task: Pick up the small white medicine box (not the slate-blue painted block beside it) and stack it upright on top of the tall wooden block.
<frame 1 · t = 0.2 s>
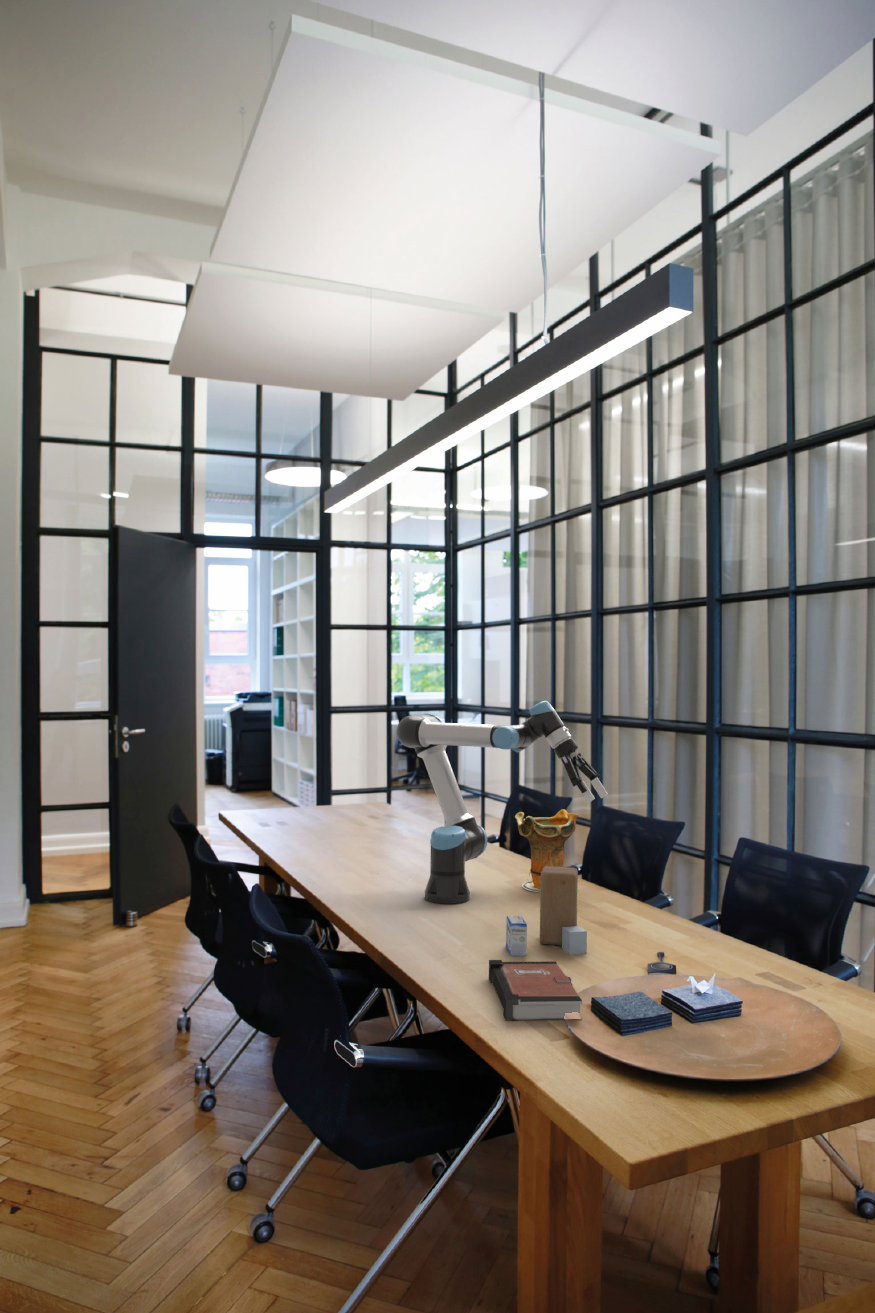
hand: (598, 798, 274), 36 cm above the table, tool tilted 35°, fingers open, 13 cm apart
wooden block: (558, 941, 240), on the table
medicine box: (516, 952, 230), on the table
slate block: (574, 951, 231), on the table
decorative vase: (546, 888, 303), on the table
book: (533, 1001, 196), on the table
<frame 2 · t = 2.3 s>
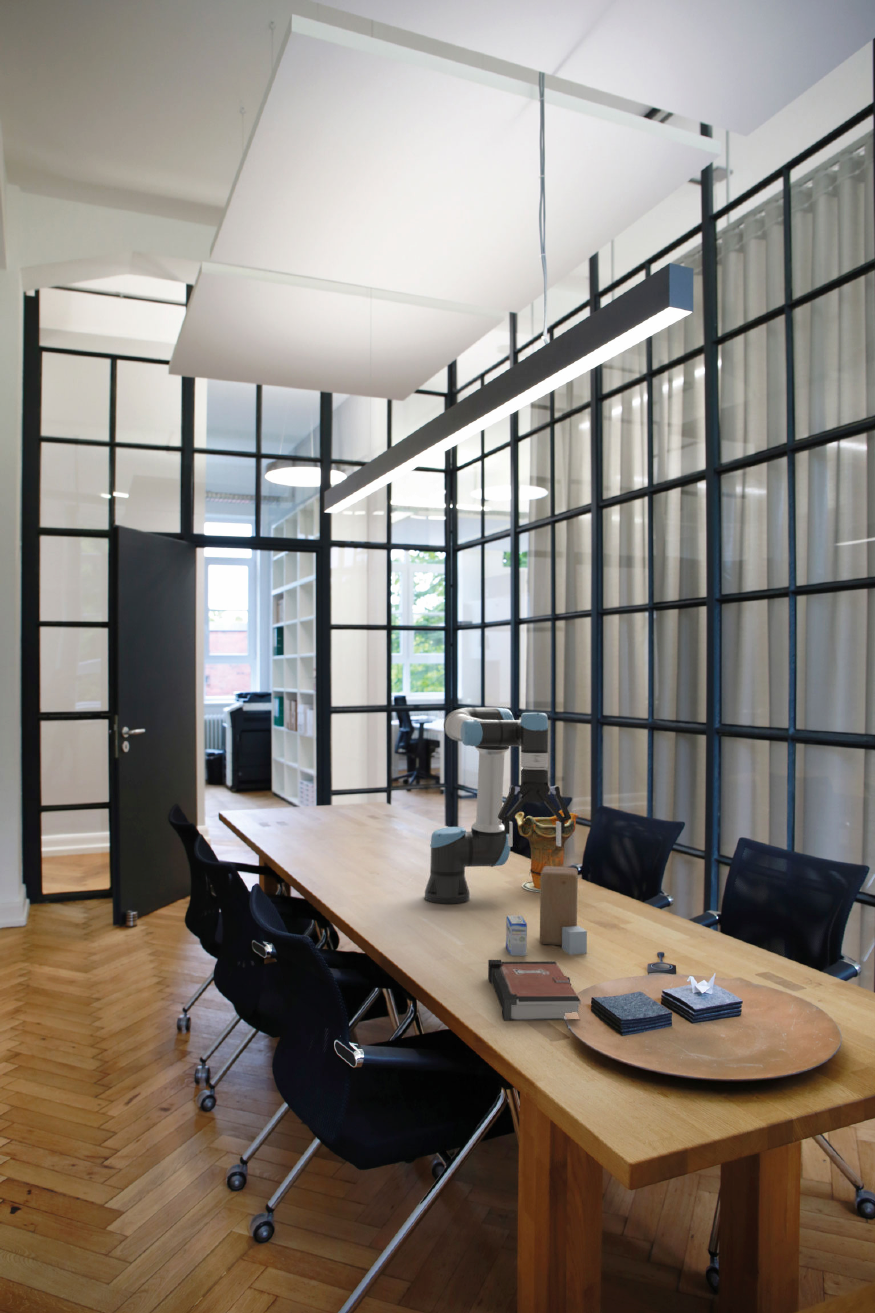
hand: (534, 846, 233), 28 cm above the table, tool pointing down, fingers open, 13 cm apart
nothing on the table moved.
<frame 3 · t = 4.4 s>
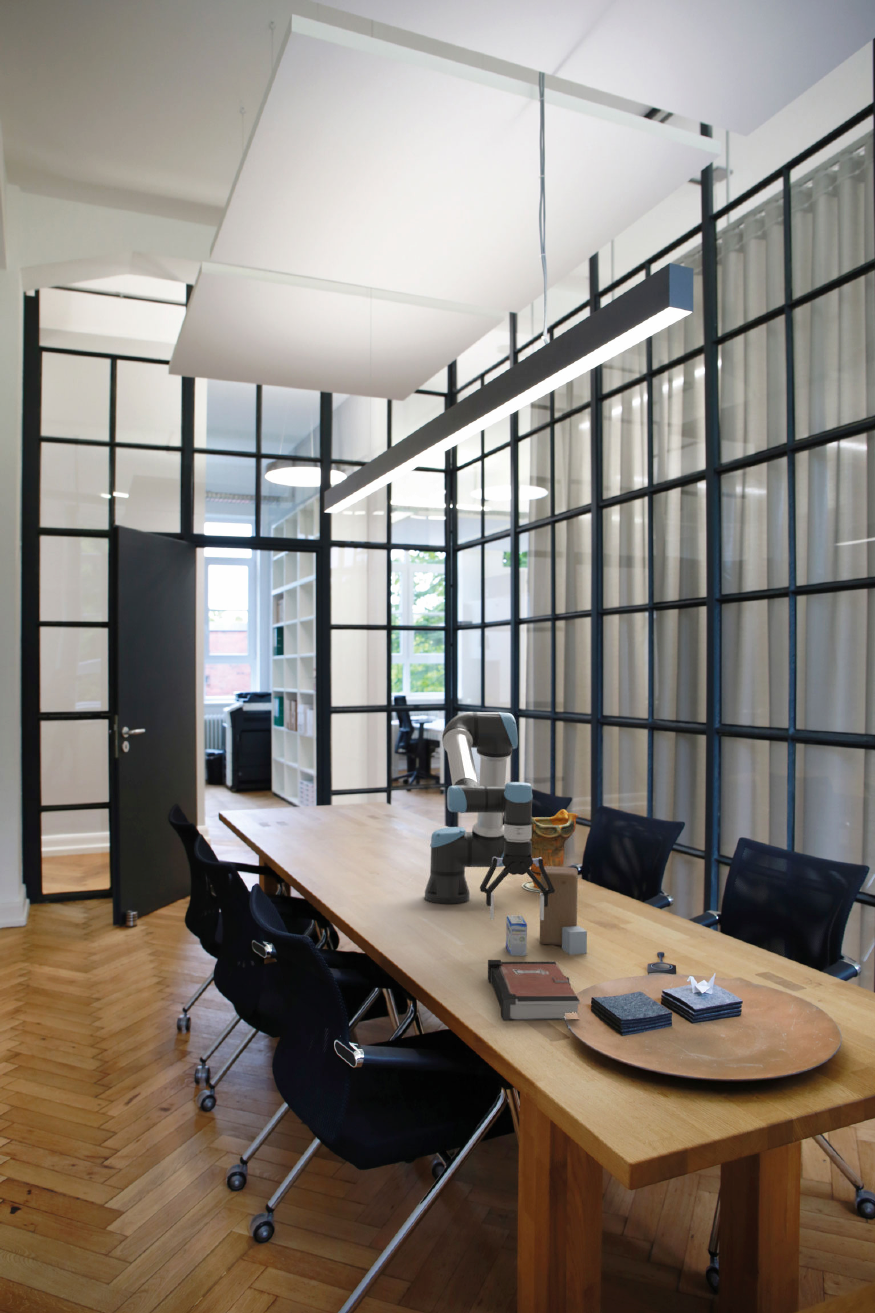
hand: (516, 918, 230), 9 cm above the table, tool pointing down, fingers open, 13 cm apart
nothing on the table moved.
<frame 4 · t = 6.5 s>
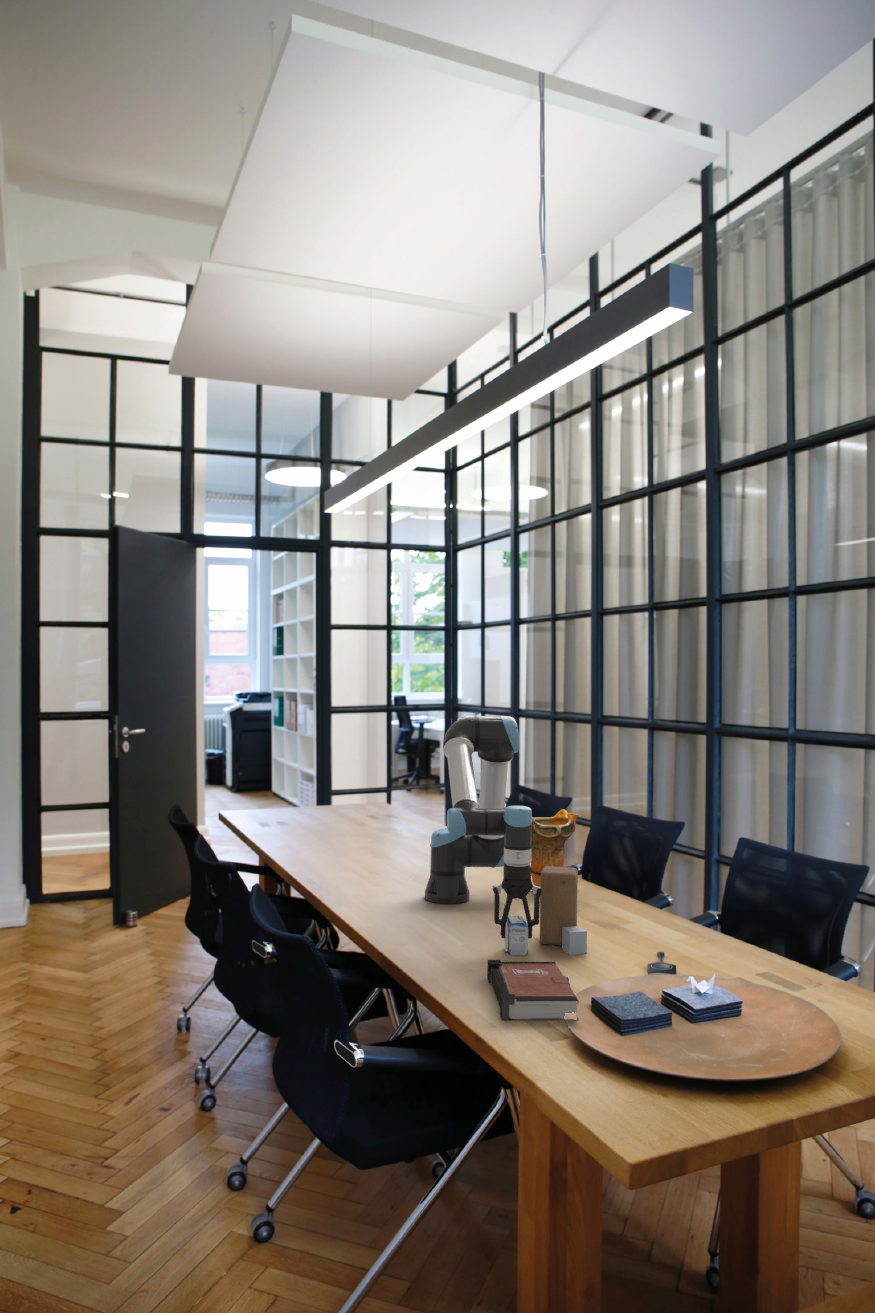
hand: (516, 950, 230), 0 cm above the table, tool pointing down, fingers closed on medicine box, 5 cm apart
medicine box: (516, 952, 230), on the table, touching gripper
everything else where it was.
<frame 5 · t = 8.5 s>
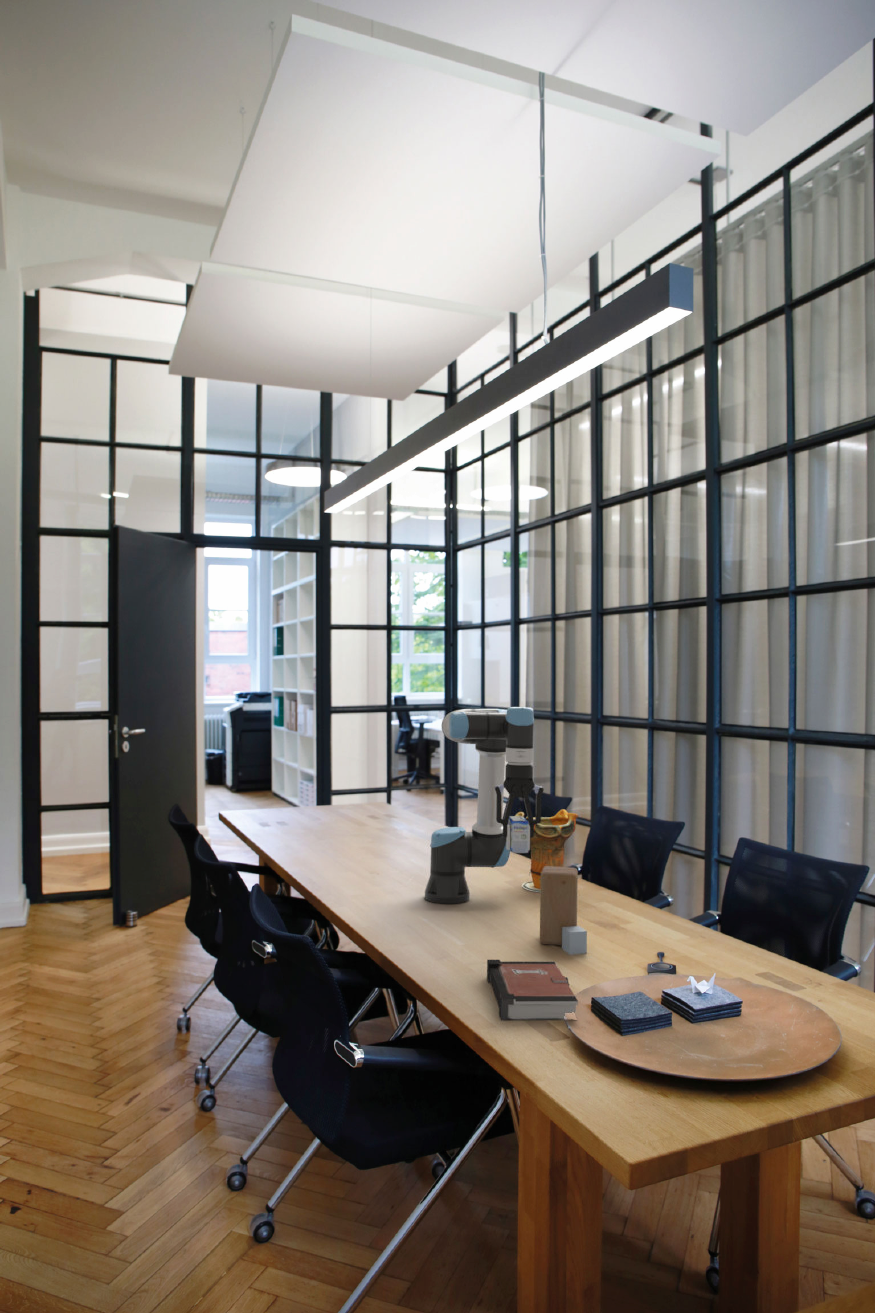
hand: (517, 849, 231), 28 cm above the table, tool pointing down, fingers closed on medicine box, 5 cm apart
medicine box: (518, 851, 231), point 27 cm above the table, touching gripper
everything else where it was.
when the fingers open (21 cm above the table, at t = 11.0 s): medicine box stays where it is, resting on wooden block.
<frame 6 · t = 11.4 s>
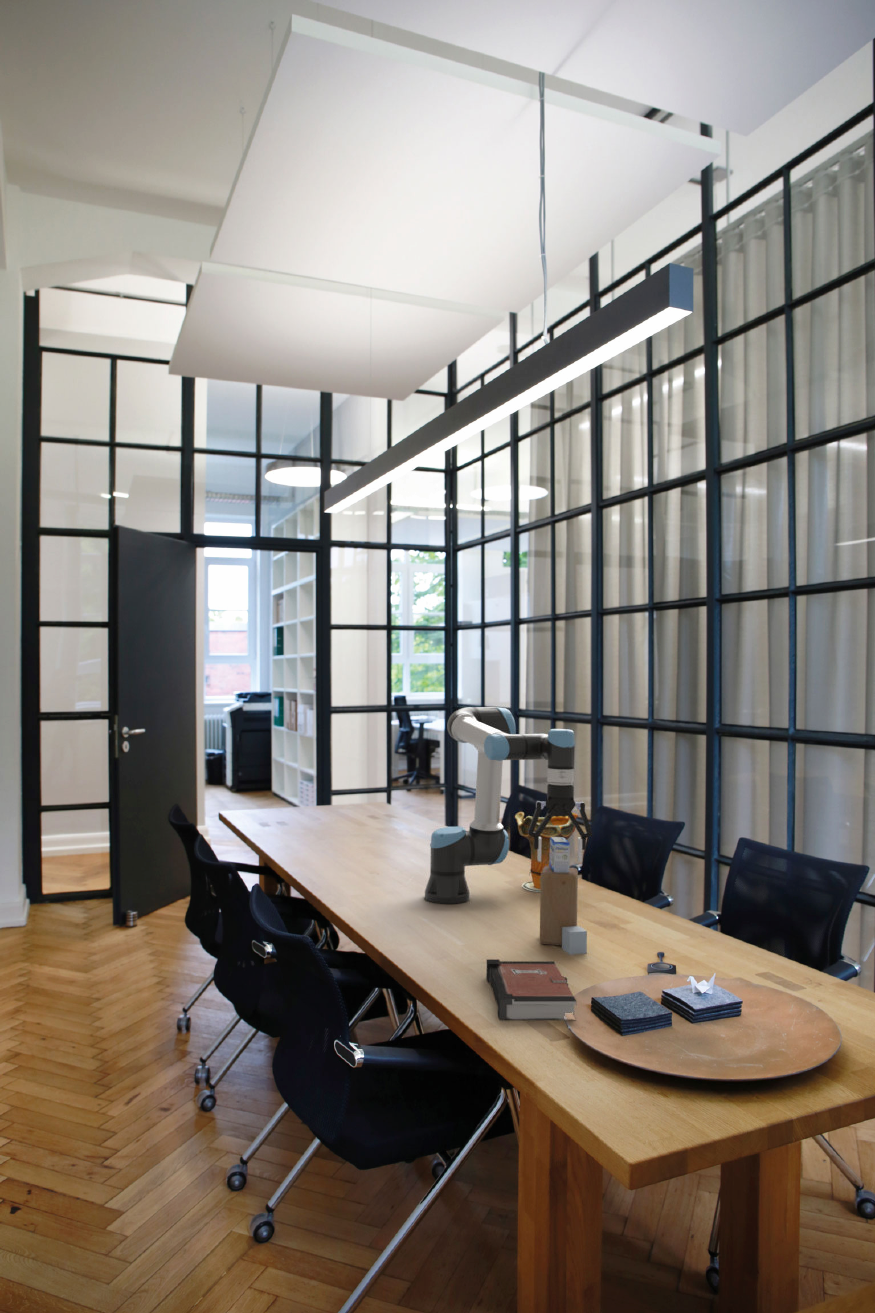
hand: (559, 861, 241), 22 cm above the table, tool pointing down, fingers open, 11 cm apart
wooden block: (558, 941, 240), on the table, touching medicine box
medicine box: (559, 870, 241), point 20 cm above the table, touching wooden block
everything else where it was.
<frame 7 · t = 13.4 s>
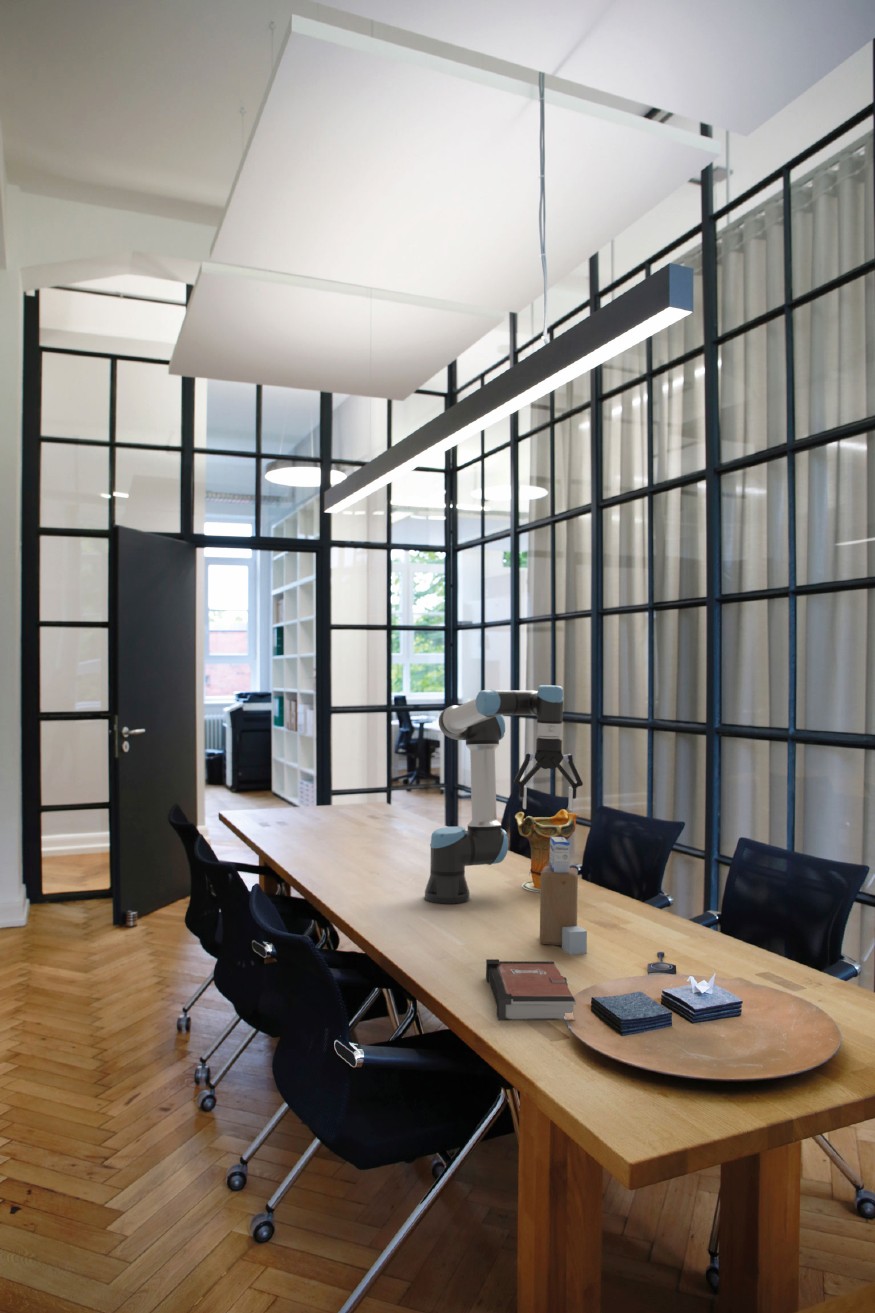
hand: (547, 809, 251), 36 cm above the table, tool pointing down, fingers open, 13 cm apart
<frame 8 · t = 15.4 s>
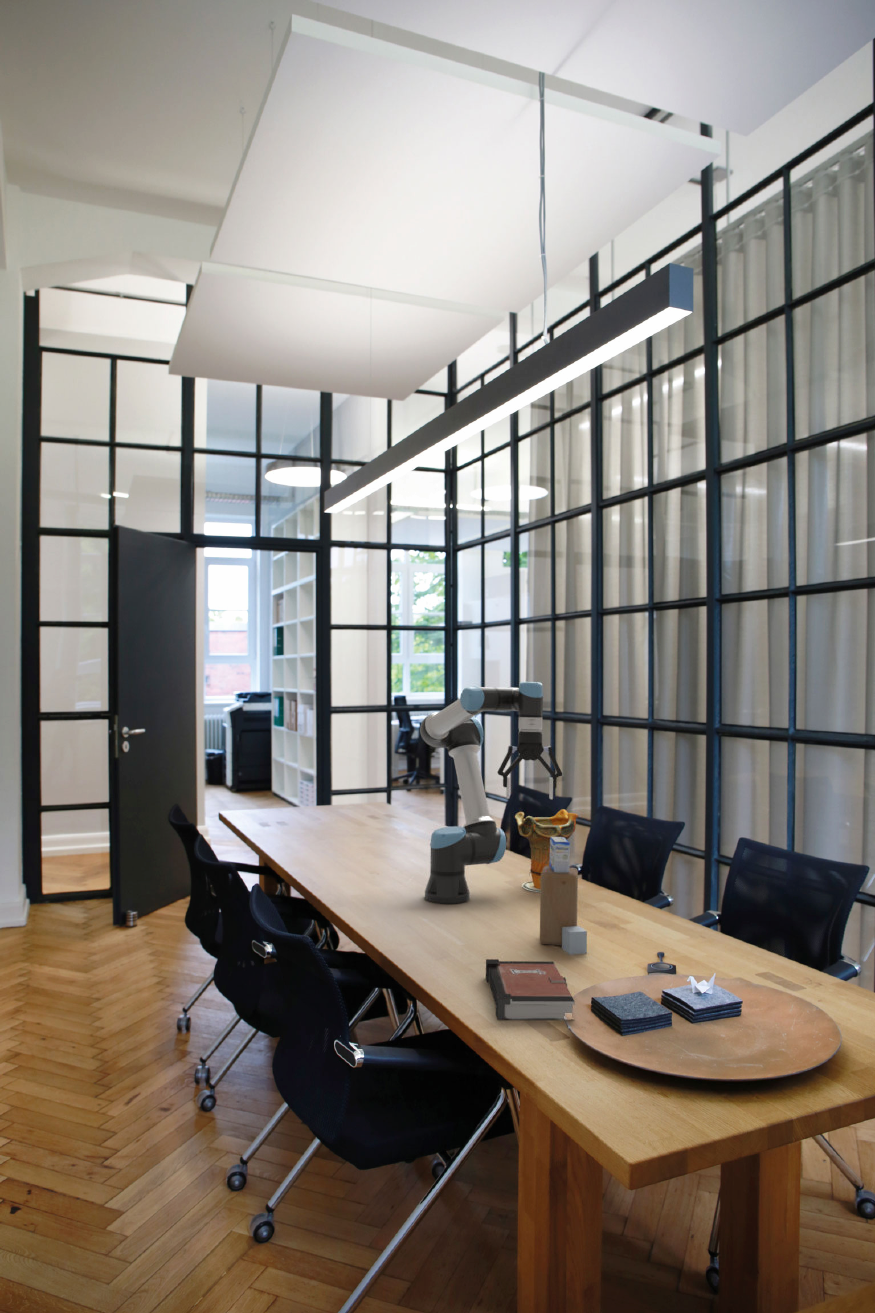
hand: (529, 798, 266), 37 cm above the table, tool pointing down, fingers open, 13 cm apart
at the end: medicine box inside the target area on the wooden block (0.2 cm from its centre), point 20.0 cm above the wooden block's base; medicine box tilted 0°; the gripper is holding nothing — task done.
